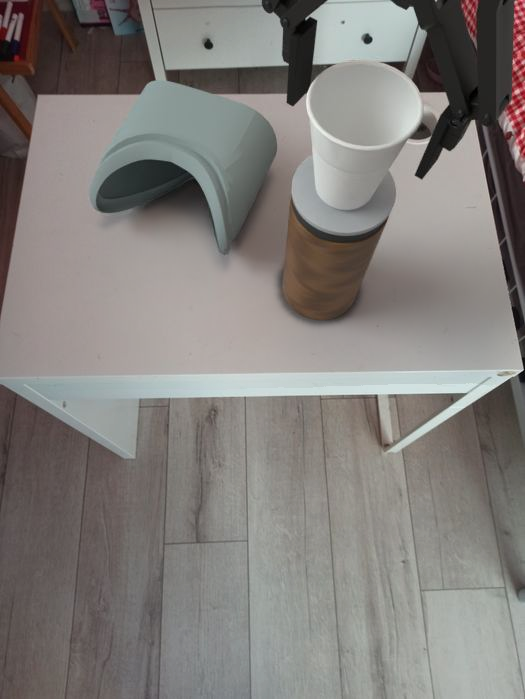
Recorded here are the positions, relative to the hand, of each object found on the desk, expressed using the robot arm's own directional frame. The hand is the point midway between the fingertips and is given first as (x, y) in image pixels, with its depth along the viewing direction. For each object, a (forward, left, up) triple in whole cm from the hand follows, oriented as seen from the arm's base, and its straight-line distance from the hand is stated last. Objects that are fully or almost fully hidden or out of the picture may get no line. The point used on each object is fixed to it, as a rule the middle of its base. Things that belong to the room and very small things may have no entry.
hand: (360, 131), depth 43 cm
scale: (0, 0, -10) cm, 10 cm away
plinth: (0, 0, -30) cm, 30 cm away
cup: (0, 0, -8) cm, 8 cm away
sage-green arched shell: (+25, 0, -30) cm, 40 cm away
